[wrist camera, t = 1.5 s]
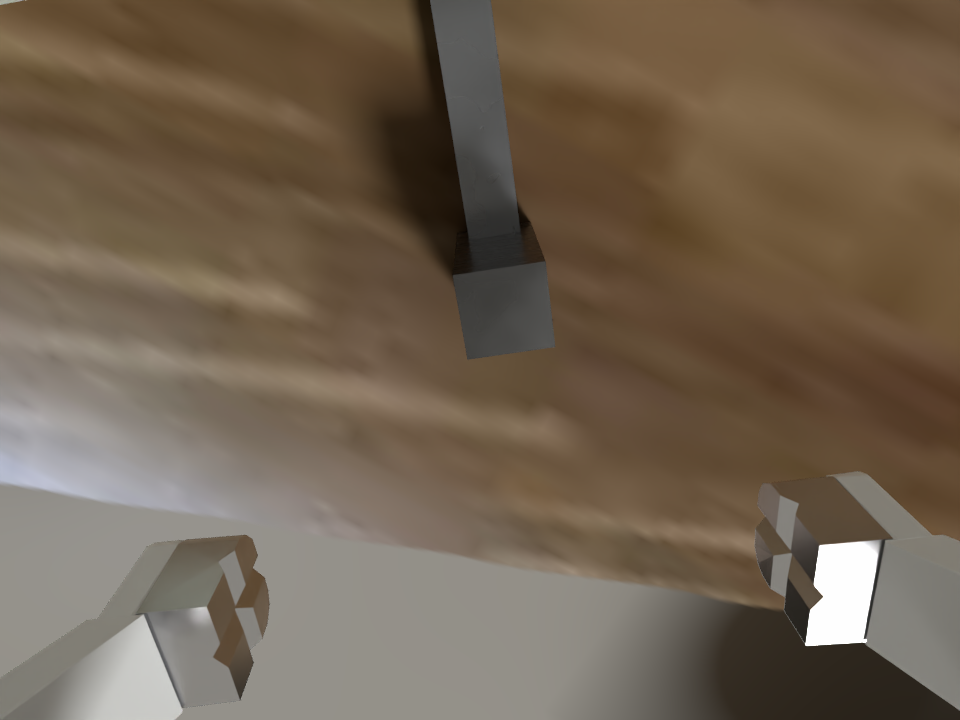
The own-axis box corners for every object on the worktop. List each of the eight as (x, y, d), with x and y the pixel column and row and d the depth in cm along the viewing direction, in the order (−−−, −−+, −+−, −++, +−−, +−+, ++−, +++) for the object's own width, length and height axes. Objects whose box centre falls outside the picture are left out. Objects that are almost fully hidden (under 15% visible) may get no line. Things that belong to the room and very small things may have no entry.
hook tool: (470, -271, 20) (468, -406, 14) (538, 291, 27) (555, 346, 21) (234, -224, 20) (144, -337, 14) (365, 317, 27) (338, 378, 22)
